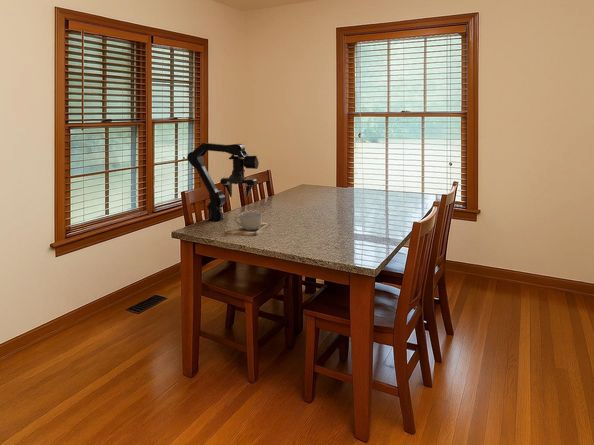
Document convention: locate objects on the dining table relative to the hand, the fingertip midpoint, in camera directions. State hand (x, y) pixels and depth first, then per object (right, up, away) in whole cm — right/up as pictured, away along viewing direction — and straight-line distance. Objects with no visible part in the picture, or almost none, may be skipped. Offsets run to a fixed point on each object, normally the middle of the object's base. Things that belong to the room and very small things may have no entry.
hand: (239, 197), depth 242 cm
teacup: (+6, -17, -13) cm, 22 cm away
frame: (+6, -17, -14) cm, 22 cm away
